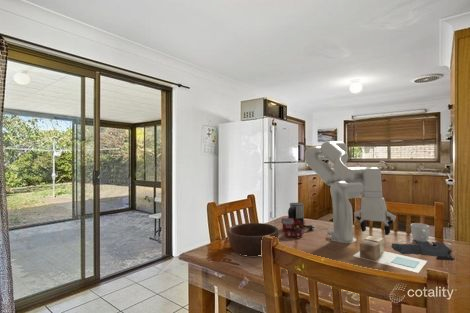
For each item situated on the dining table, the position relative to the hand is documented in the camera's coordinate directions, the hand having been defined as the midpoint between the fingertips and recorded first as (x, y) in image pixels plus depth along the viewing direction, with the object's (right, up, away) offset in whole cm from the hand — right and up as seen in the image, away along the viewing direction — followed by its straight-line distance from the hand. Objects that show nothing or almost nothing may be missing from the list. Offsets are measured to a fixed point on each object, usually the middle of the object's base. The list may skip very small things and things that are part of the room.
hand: (375, 232), depth 115 cm
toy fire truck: (-30, -11, +30) cm, 44 cm away
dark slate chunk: (+21, -10, +1) cm, 23 cm away
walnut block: (-5, -9, -5) cm, 12 cm away
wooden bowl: (-54, -12, +10) cm, 56 cm away
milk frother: (-21, -11, +46) cm, 52 cm away
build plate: (+2, -10, -7) cm, 12 cm away
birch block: (0, -9, +1) cm, 9 cm away
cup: (+32, -9, +15) cm, 37 cm away
